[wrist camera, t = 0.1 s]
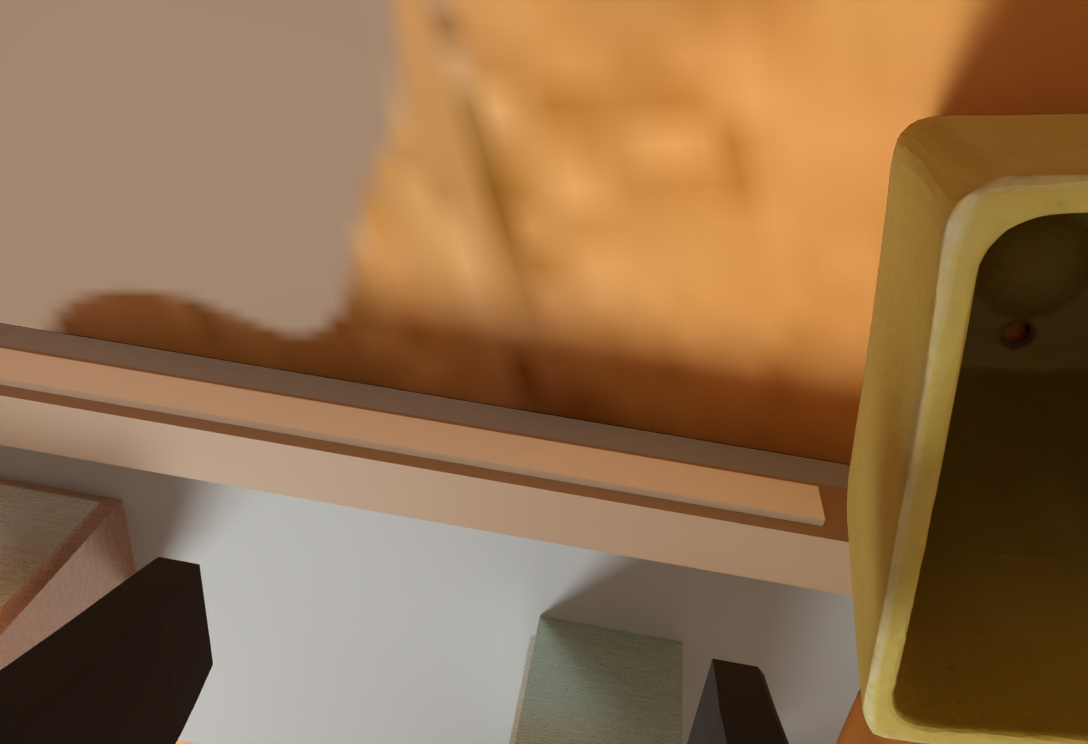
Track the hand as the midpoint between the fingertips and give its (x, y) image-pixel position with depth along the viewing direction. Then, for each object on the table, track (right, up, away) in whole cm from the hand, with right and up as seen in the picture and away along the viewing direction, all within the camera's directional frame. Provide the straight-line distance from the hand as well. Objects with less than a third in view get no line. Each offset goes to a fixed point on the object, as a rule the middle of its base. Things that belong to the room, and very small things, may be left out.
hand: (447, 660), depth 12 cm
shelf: (-5, -3, +14) cm, 15 cm away
